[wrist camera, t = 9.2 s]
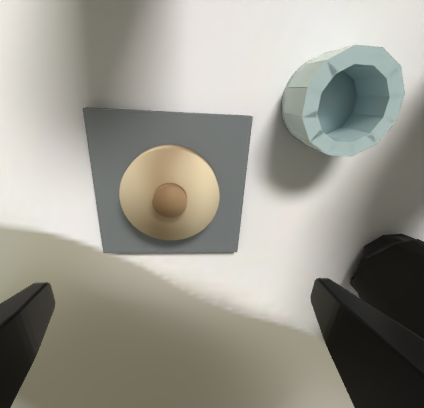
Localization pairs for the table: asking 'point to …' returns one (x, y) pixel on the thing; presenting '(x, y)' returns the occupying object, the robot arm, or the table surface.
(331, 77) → the bowl
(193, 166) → the lid
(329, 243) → the table surface
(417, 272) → the portable speaker
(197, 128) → the mat
